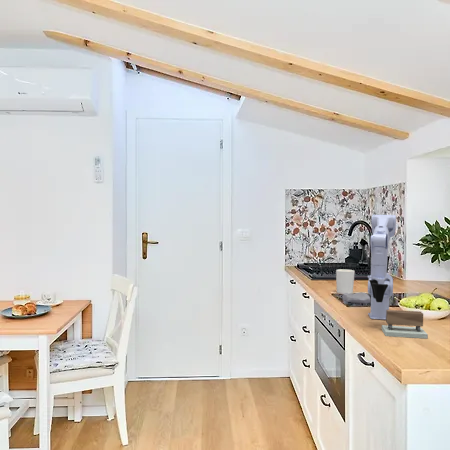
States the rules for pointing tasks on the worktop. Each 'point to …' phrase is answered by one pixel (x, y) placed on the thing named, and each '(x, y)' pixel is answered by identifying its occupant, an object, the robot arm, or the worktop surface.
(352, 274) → the candle holder
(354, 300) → the stone block
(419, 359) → the worktop surface
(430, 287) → the worktop surface
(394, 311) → the walnut plank
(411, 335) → the peg stand
